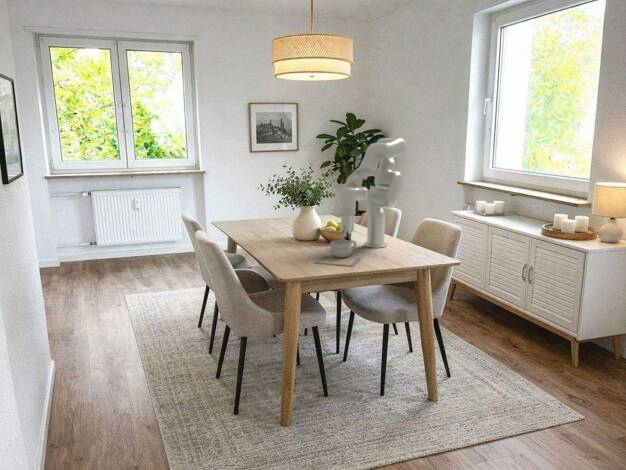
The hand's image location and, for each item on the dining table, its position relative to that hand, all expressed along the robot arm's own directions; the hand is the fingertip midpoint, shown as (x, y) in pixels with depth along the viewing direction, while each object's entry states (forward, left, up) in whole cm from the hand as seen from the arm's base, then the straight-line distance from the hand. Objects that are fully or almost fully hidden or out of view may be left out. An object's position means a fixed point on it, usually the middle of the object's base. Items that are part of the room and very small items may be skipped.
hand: (347, 246), depth 271 cm
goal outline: (+17, 0, -4) cm, 17 cm away
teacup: (+7, 0, -4) cm, 8 cm away
